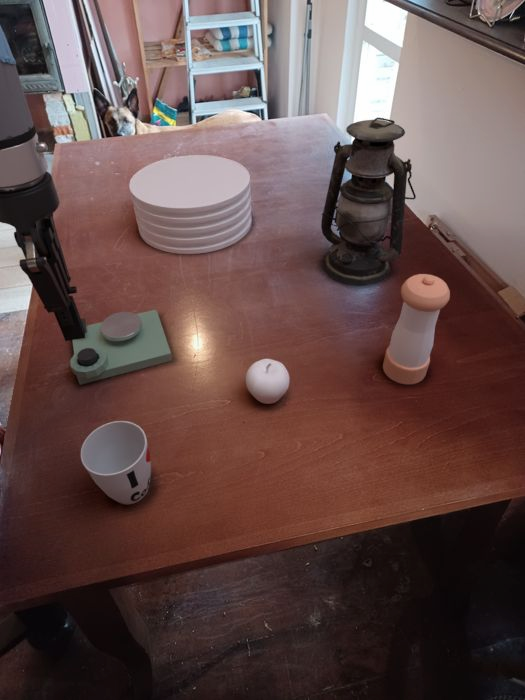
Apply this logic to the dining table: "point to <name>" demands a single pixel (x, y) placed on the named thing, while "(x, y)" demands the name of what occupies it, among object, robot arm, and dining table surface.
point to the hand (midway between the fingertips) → (75, 336)
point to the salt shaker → (415, 328)
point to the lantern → (365, 204)
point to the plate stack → (192, 203)
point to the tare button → (87, 357)
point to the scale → (122, 350)
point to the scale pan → (119, 326)
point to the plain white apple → (267, 380)
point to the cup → (118, 460)
